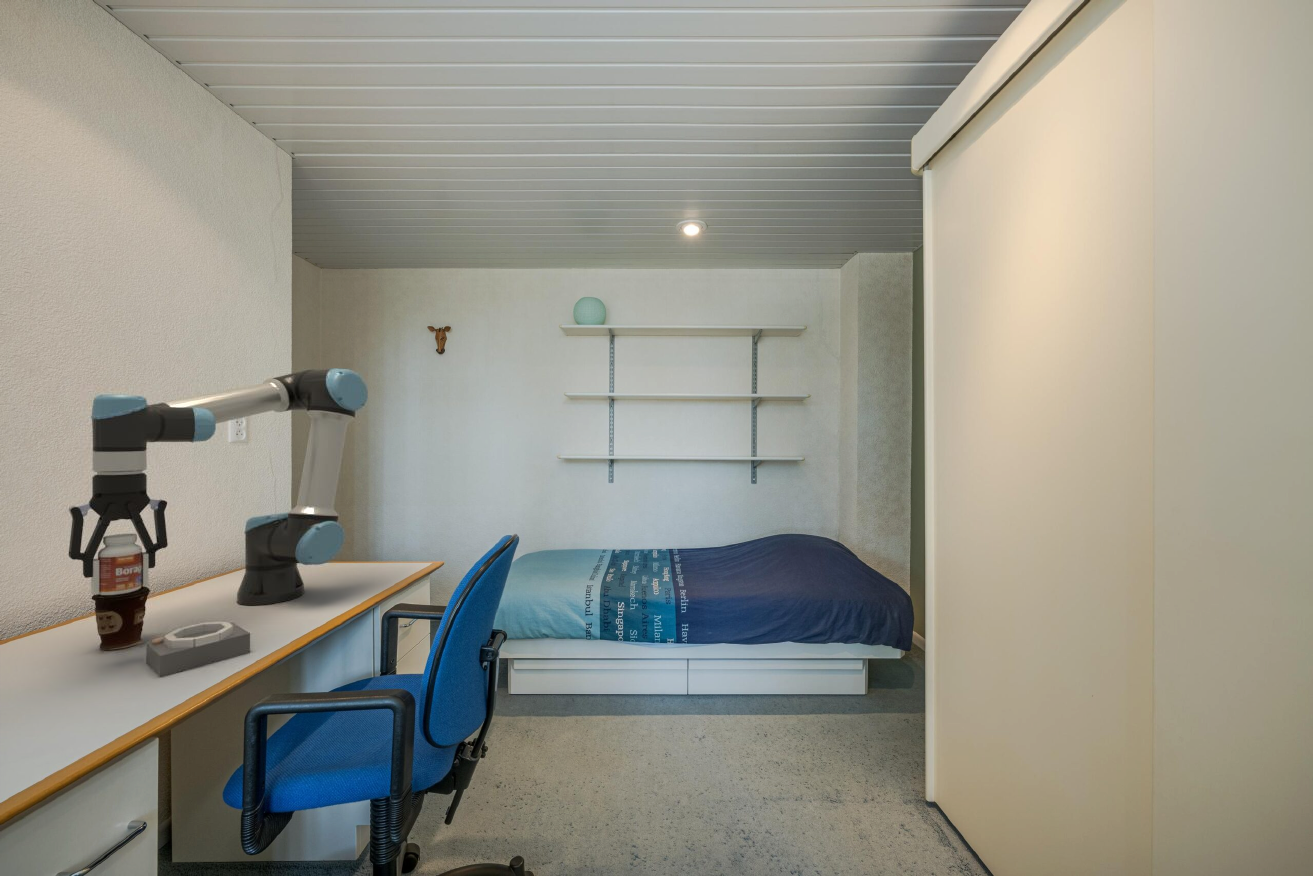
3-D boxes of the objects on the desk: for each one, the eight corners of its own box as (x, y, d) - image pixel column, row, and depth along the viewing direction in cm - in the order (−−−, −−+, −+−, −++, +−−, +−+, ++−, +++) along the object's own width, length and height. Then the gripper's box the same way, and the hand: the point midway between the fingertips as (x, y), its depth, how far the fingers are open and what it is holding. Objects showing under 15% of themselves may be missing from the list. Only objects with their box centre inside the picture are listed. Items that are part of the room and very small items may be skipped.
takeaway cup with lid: (110, 655, 108) (110, 592, 108) (79, 651, 109) (80, 589, 109) (158, 639, 116) (159, 580, 116) (129, 636, 118) (129, 578, 118)
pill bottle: (117, 596, 101) (117, 539, 101) (88, 595, 101) (87, 538, 101) (150, 587, 107) (150, 532, 107) (123, 586, 108) (123, 532, 107)
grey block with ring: (233, 641, 116) (233, 616, 116) (250, 652, 110) (250, 626, 110) (146, 663, 104) (146, 635, 104) (159, 677, 99) (160, 647, 99)
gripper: (179, 469, 114) (179, 575, 114) (43, 474, 98) (44, 597, 99) (188, 471, 109) (188, 581, 110) (48, 477, 94) (49, 605, 94)
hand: (120, 588), depth 104 cm, fingers closed on pill bottle, 6 cm apart
